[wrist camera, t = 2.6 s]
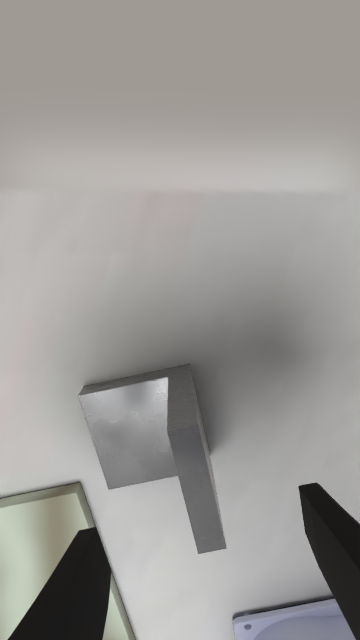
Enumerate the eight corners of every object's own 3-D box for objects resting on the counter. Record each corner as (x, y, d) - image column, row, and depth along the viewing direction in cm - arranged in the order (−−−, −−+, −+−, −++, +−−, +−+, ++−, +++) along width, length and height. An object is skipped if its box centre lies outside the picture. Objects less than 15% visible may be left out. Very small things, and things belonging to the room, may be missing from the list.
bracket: (189, 363, 18) (198, 424, 12) (209, 454, 19) (226, 548, 14) (84, 385, 18) (42, 456, 12) (112, 474, 19) (87, 575, 14)
